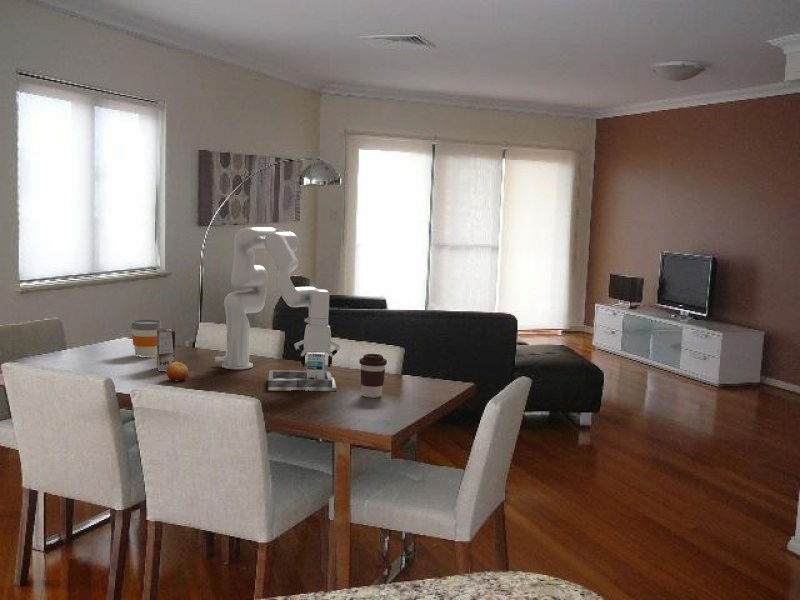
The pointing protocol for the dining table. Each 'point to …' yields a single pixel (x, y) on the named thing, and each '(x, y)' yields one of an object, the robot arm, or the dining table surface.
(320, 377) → the light bulb box
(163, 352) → the coffee box
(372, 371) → the coffee cup
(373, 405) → the dining table surface
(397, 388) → the dining table surface
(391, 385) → the dining table surface
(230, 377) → the dining table surface
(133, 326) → the reusable coffee cup
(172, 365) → the fruit
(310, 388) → the gray shallow tray
